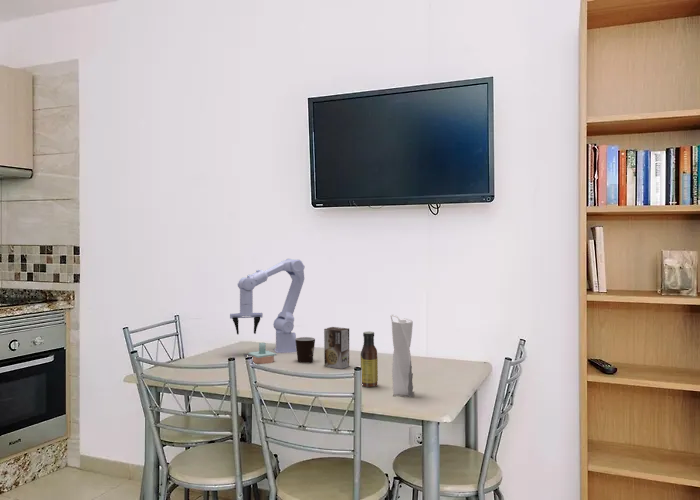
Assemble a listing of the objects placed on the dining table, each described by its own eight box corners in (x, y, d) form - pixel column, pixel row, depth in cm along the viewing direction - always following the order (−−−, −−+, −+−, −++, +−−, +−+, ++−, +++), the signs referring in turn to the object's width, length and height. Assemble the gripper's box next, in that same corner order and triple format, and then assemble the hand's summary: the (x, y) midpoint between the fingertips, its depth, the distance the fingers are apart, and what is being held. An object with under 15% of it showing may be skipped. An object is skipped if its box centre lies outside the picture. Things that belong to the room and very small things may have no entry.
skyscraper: (388, 396, 202) (389, 316, 201) (391, 390, 210) (391, 313, 209) (412, 398, 201) (413, 317, 200) (414, 391, 209) (415, 313, 208)
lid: (266, 351, 261) (266, 340, 261) (276, 355, 254) (276, 343, 254) (248, 354, 256) (248, 342, 256) (257, 357, 248) (257, 346, 248)
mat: (269, 353, 273) (269, 352, 273) (272, 358, 261) (272, 357, 261) (243, 354, 270) (243, 353, 270) (245, 359, 258) (245, 359, 258)
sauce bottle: (367, 382, 220) (368, 330, 220) (381, 385, 216) (381, 331, 216) (356, 385, 215) (357, 332, 215) (370, 388, 211) (370, 334, 211)
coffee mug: (306, 364, 249) (306, 341, 249) (291, 362, 254) (291, 339, 254) (323, 360, 259) (323, 337, 258) (308, 357, 264) (308, 335, 263)
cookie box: (350, 366, 247) (350, 328, 246) (341, 369, 241) (341, 330, 241) (332, 363, 252) (332, 326, 251) (323, 366, 246) (323, 328, 246)
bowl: (272, 359, 260) (272, 352, 260) (275, 363, 251) (275, 356, 251) (251, 360, 257) (251, 353, 257) (253, 364, 249) (253, 357, 249)
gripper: (261, 302, 271) (261, 331, 272) (229, 303, 267) (229, 332, 268) (263, 304, 264) (263, 334, 265) (230, 305, 261) (230, 335, 261)
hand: (246, 333), depth 266 cm, fingers open, 7 cm apart
